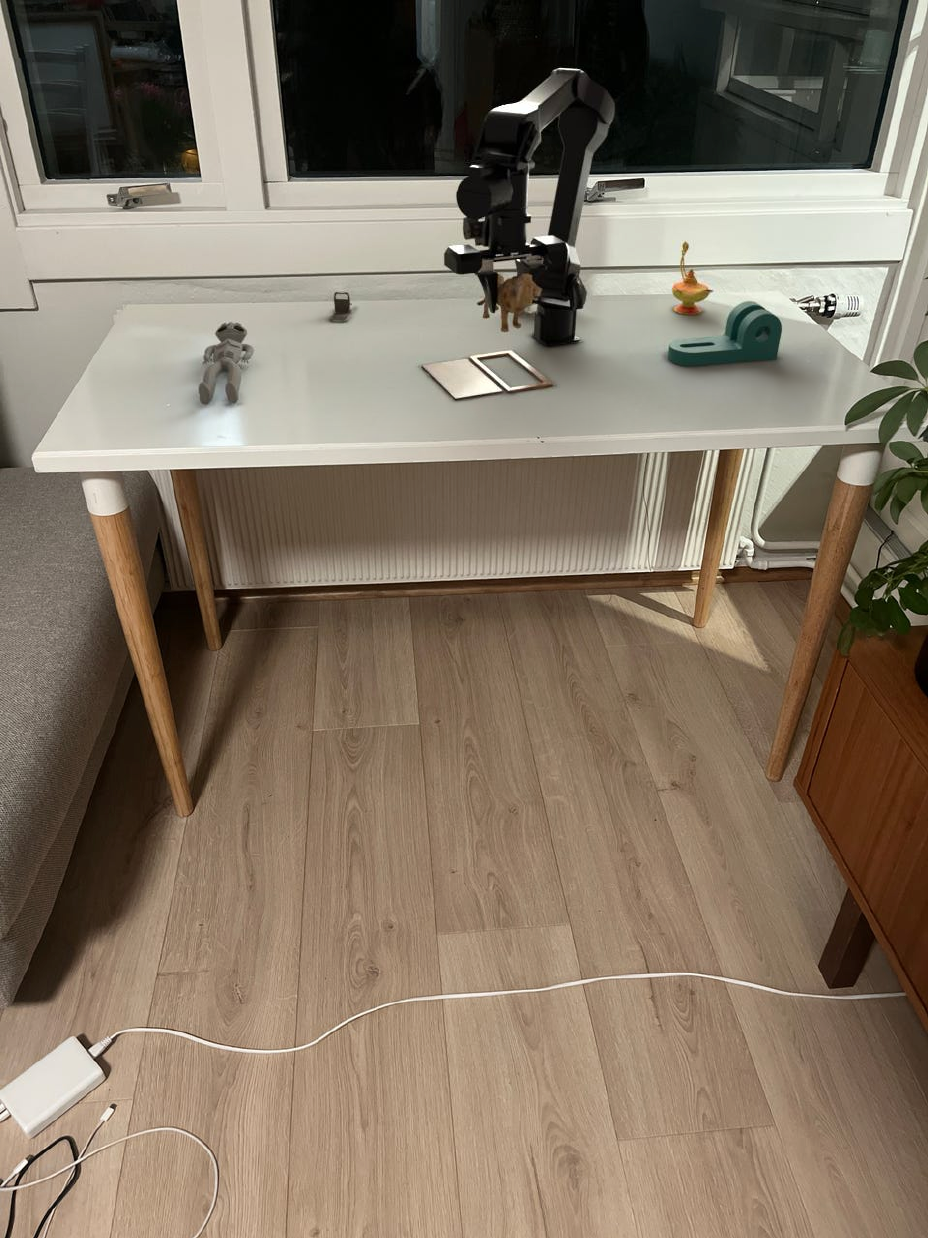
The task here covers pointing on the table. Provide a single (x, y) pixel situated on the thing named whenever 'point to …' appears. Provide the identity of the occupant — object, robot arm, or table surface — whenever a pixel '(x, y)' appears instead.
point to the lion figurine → (513, 298)
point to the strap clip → (342, 308)
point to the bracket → (733, 339)
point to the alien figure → (225, 361)
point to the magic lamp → (689, 289)
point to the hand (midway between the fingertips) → (505, 310)
